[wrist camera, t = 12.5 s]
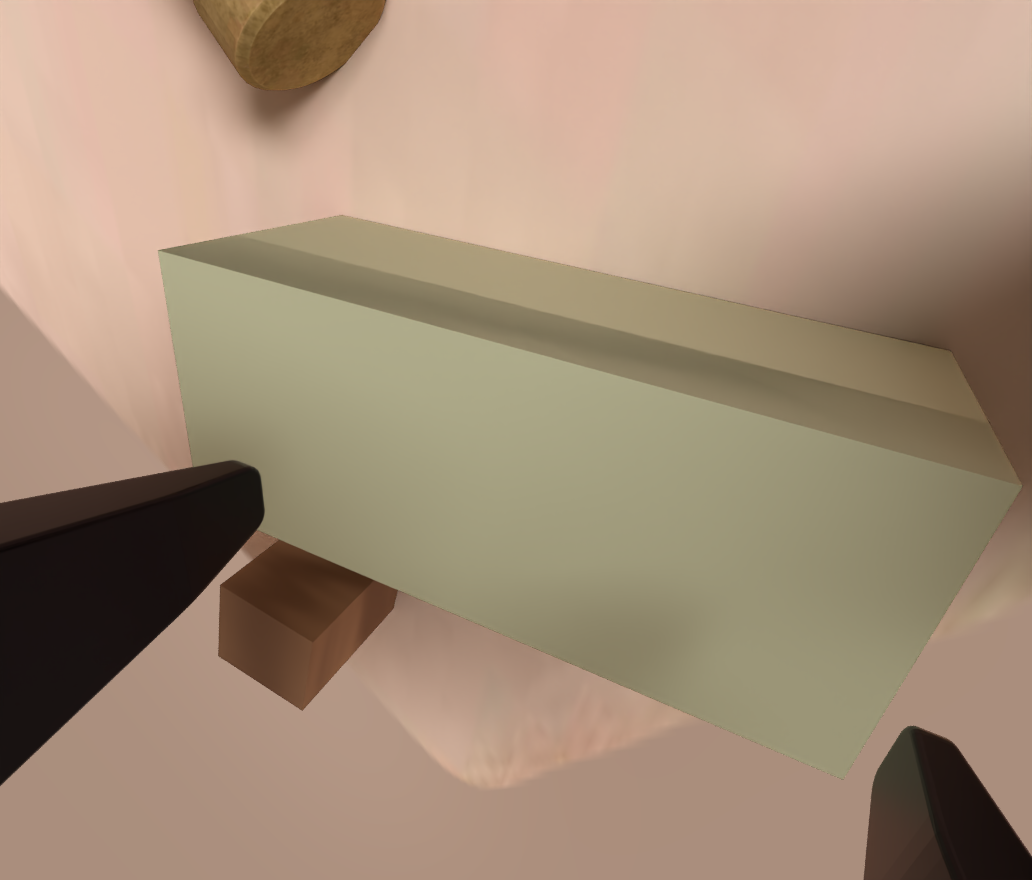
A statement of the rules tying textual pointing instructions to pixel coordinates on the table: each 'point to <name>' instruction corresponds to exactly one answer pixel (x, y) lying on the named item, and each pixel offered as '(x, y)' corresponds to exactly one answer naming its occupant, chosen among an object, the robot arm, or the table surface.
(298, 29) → the gavel
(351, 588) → the pusher tool
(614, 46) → the table surface
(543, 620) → the plinth shelf
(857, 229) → the table surface
